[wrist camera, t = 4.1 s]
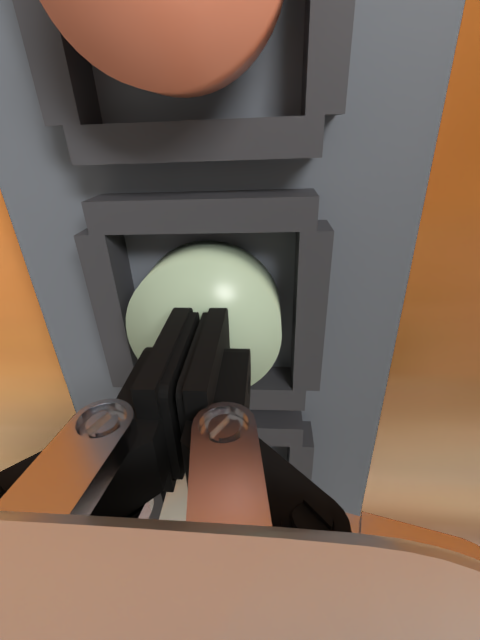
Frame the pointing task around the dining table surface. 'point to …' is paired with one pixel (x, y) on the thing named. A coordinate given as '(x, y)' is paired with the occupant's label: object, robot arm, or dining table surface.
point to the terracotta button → (168, 40)
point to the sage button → (211, 299)
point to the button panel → (238, 203)
